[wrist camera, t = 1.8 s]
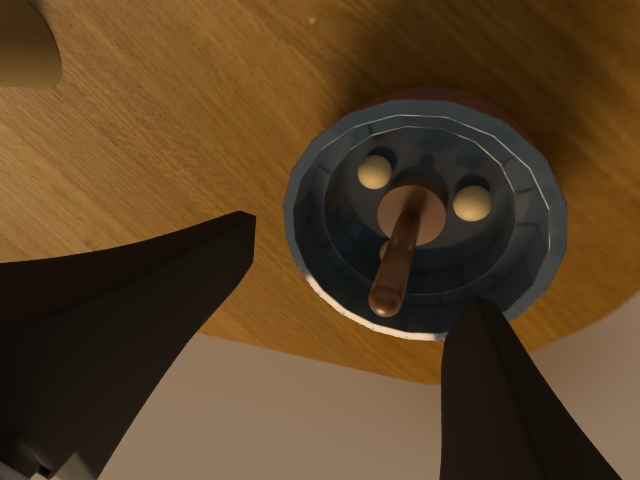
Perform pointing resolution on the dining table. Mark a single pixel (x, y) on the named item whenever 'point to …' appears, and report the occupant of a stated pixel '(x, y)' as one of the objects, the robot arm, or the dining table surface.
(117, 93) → the dining table surface
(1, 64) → the brown game pawn
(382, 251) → the chickpea
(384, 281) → the wooden pestle
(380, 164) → the chickpea
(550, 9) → the dining table surface
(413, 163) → the bowl
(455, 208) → the chickpea
